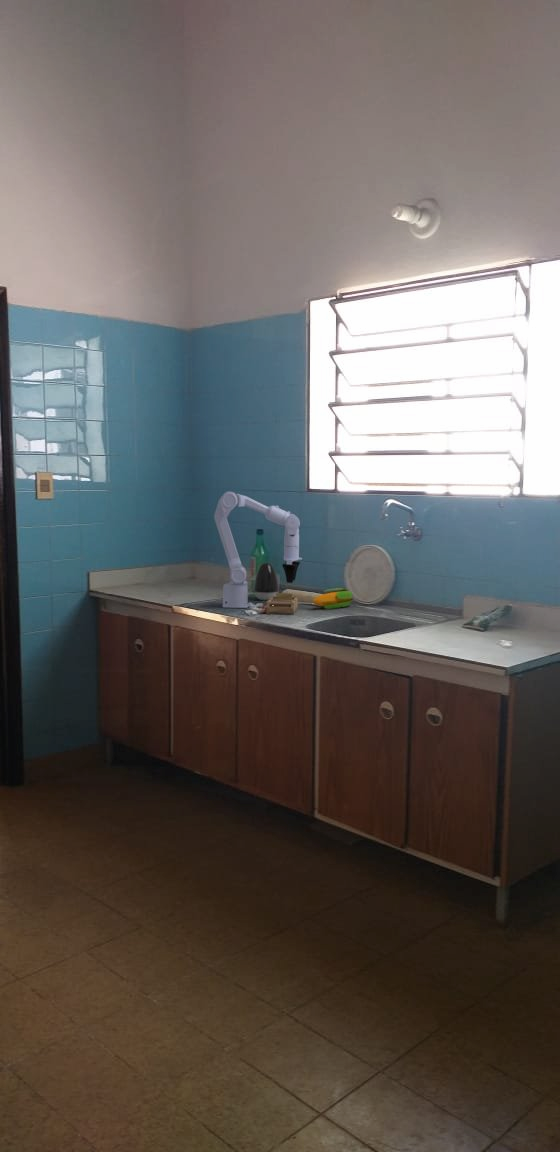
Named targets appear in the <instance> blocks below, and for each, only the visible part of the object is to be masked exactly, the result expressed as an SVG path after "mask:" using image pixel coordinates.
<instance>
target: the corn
mask: <svg viewBox="0 0 560 1152" xmlns="http://www.w3.org/2000/svg"><path fill="white" fill-rule="evenodd" d="M324 592H325V593H321V594H320V595H318V596H315V597H314V598H313V599H312V603H313V604H314V605H316V606H320V607H323V609H326V610H327V609H328V610H334V609H335V608H336V609H341V608H340V607H343V608H347V607H348V606H349V605H351V603H352V601H353V600H352V599H353V593H352V592H351V590H348V589H345V588H341V587H335V588H330V589H325V590H324ZM346 606H347V607H346ZM336 609H335V610H336Z"/></svg>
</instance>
